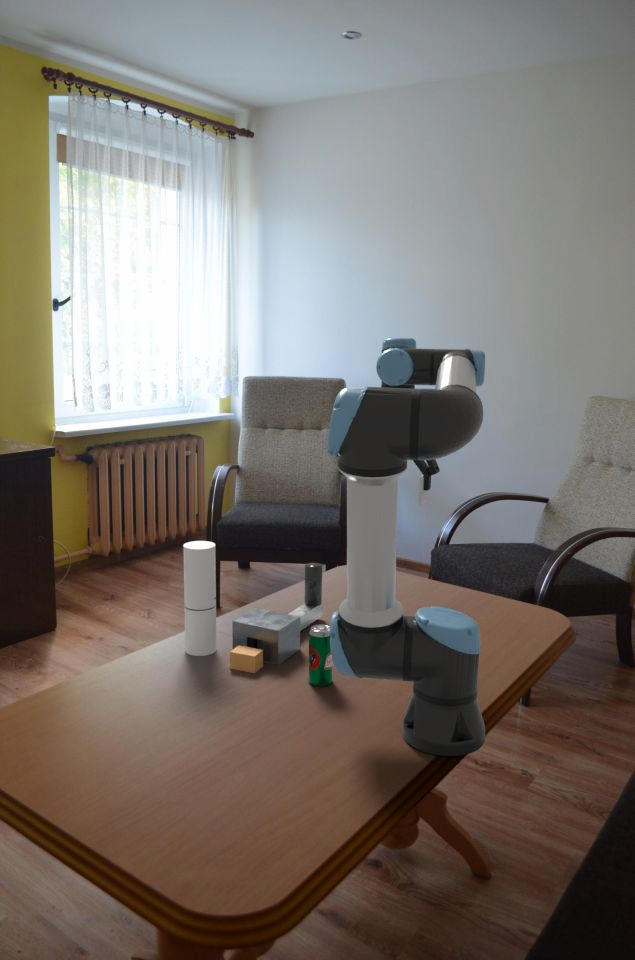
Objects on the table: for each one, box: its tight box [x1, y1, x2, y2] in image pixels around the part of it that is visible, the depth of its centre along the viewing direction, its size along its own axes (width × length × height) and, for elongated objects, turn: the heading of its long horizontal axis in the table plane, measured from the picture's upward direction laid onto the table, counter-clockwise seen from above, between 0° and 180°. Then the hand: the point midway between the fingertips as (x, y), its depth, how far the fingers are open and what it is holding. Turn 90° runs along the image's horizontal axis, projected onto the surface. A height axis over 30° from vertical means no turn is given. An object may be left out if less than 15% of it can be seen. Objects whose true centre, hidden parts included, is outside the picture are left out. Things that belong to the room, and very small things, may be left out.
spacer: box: [229, 645, 264, 674], centre depth 175 cm, size 4×6×4 cm
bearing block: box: [231, 607, 301, 666], centre depth 183 cm, size 10×12×8 cm
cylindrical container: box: [182, 540, 217, 657], centre depth 182 cm, size 7×7×25 cm
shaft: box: [257, 562, 324, 649], centre depth 192 cm, size 26×4×14 cm, turn 153°
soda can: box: [307, 624, 334, 687], centre depth 167 cm, size 5×5×12 cm
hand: (394, 501), depth 182 cm, fingers open, 13 cm apart
